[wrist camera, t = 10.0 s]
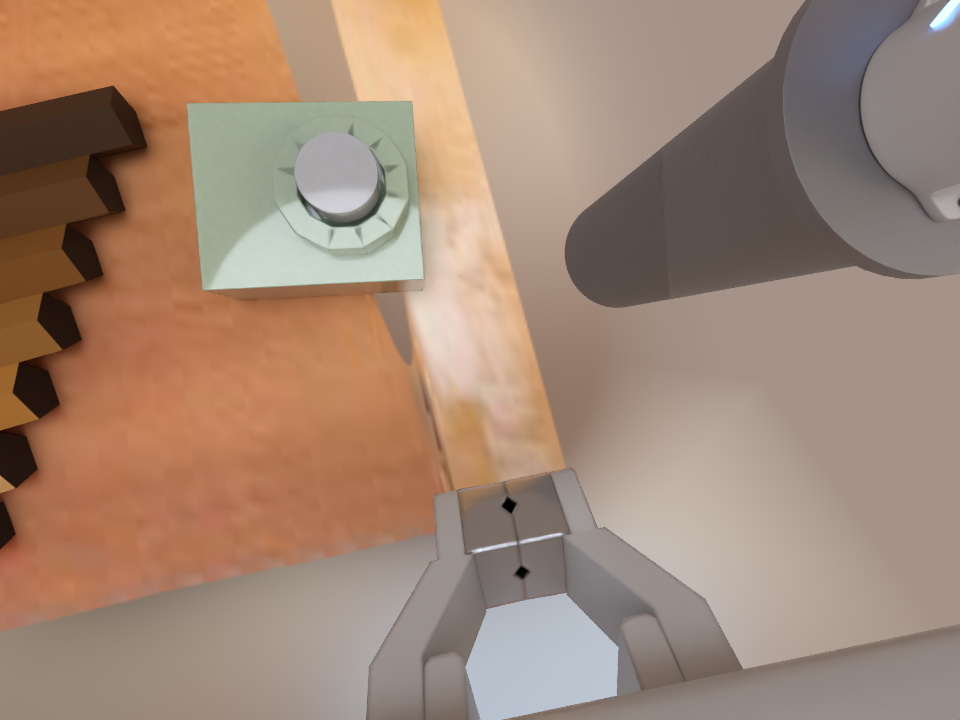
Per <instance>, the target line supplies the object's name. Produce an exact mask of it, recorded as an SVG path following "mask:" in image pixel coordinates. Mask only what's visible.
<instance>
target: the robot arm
mask: <svg viewBox="0 0 960 720" xmlns="http://www.w3.org/2000/svg"><path fill="white" fill-rule="evenodd" d="M860 108H861V119H862V124H863V129H864V133H865V136H866V139H867V141H868V144H869V146H870V148H871V150H872V152H873V154H874V156H875V157H876V159H877V160H878V162H879V163H880V165H881V166H882V167H883V168H884V169H885V171H886V172H887V173H888V174H889V175H890V176H891V177H892V178H894V179H895V180H896V181H897V182H899V183H900V184H902V185H903V186H904V187H906V188H907V189H909V190H910V191H911V192H912V193H913V194H914V195H915V196H916V197H917V198H918V200H919V202H920V204H921V205H922V207H923V208H924V210H925V211H926V213H927V214H928V215H929V217H930V218H931V219H932V220H933V221H935V222H937V223H946V222H950V221H953V220H957V219H960V0H919V2H918V3H917V5H916V7H915V9H914V11H913V13H912V15H911V17H910V18H909V19H908V20H907V21H906V22H905V23H904V24H903V25H901V26H900V27H899V28H897V29H896V30H895V31H893V32H892V33H891V34H890V35H889V36H888V37H887V38H886V39H885V40H884V41H883V42H882V43H881V44H880V45H879V47H878V48H877V50H876V51H875V53H874V54H873V56H872V58H871V60H870V62H869V64H868V66H867V69H866V72H865V75H864V79H863V83H862V88H861V99H860ZM433 503H434V517H435V532H436V545H437V560H435V561H431V562H430V563H429V565H428V567H427V568H426V570H425V572H424V573H423V575H422V577H421V579H420V580H419V582H418V584H417V585H416V587H415V589H414V591H413V592H412V594H411V596H410V598H409V599H408V601H407V603H406V604H405V606H404V608H403V610H402V611H401V613H400V615H399V616H398V618H397V620H396V621H395V623H394V625H393V627H392V628H391V630H390V632H389V633H388V635H387V637H386V639H385V641H384V642H383V644H382V646H381V647H380V649H379V651H378V652H377V654H376V656H375V657H374V659H373V661H372V663H371V664H370V666H369V679H368V697H367V714H366V720H480V717H479V714H478V710H477V707H476V703H475V700H474V696H473V693H472V689H471V686H470V683H469V679H468V675H467V672H466V668H465V666H466V664H467V661H468V658H469V656H470V653H471V650H472V648H473V645H474V642H475V640H476V637H477V635H478V632H479V629H480V627H481V624H482V621H483V619H484V616H485V613H486V609H488V608H492V607H497V606H500V605H505V604H509V603H514V602H518V601H523V600H527V599H533V598H539V597H545V596H551V595H556V594H562V593H567V595H568V596H569V597H570V598H571V599H572V600H573V601H574V602H575V603H576V604H577V605H578V606H579V608H581V609H582V610H583V611H584V613H585V614H586V615H587V616H588V617H589V618H590V619H591V620H592V621H593V622H594V623H595V624H596V625H597V626H598V627H599V628H600V629H601V630H602V631H603V632H604V633H605V634H606V635H607V636H608V637H609V638H610V639H611V640H612V641H613V642H614V643H615V644H616V645H617V646H618V647H619V651H618V677H617V679H618V680H617V695H618V696H614V697H609V698H604V699H600V700H595V701H590V702H585V703H580V704H576V705H571V706H566V707H561V708H557V709H552V710H547V711H542V712H537V713H533V714H528V715H523V716H518V717H514V718H509V719H504V720H960V624H958V625H954V626H949V627H944V628H939V629H934V630H929V631H925V632H920V633H915V634H910V635H906V636H901V637H896V638H892V639H887V640H882V641H877V642H873V643H868V644H863V645H858V646H853V647H849V648H844V649H839V650H835V651H829V652H825V653H820V654H815V655H811V656H806V657H801V658H796V659H791V660H787V661H782V662H777V663H772V664H767V665H763V666H758V667H753V668H748V669H743V668H742V666H741V664H740V663H739V661H738V659H737V657H736V655H735V653H734V651H733V649H732V648H731V646H730V644H729V642H728V640H727V638H726V636H725V635H724V633H723V631H722V629H721V627H720V625H719V623H718V622H717V620H716V618H715V616H714V614H713V612H712V610H711V608H710V607H709V605H708V603H707V601H706V600H705V598H703V597H702V596H700V595H699V594H698V593H696V592H695V591H693V590H692V589H691V588H689V587H688V586H686V585H685V584H683V583H682V582H681V581H679V580H678V579H677V578H675V577H674V576H672V575H671V574H670V573H668V572H667V571H665V570H664V569H663V568H661V567H660V566H658V565H657V564H656V563H654V562H653V561H651V560H650V559H649V558H647V557H646V556H644V555H643V554H642V553H640V552H639V551H637V550H636V549H635V548H633V547H632V546H631V545H629V544H627V543H626V542H625V541H623V540H622V539H621V538H619V537H618V536H616V535H615V534H614V533H612V532H611V531H610V530H608V529H607V528H605V527H604V528H598V527H597V525H596V522H595V520H594V517H593V515H592V512H591V510H590V508H589V505H588V502H587V500H586V497H585V495H584V492H583V490H582V487H581V485H580V482H579V480H578V477H577V476H576V473H575V470H573V469H572V468H567V469H562V470H557V471H552V472H549V473H548V472H547V473H542V474H537V475H532V476H527V477H522V478H517V479H512V480H507V481H503V482H499V483H493V484H487V485H481V486H475V487H469V488H463V489H458V490H454V491H448V492H442V493H436V494H434V499H433Z"/></svg>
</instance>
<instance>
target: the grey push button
mask: <svg viewBox="0 0 960 720" xmlns="http://www.w3.org/2000/svg"><path fill="white" fill-rule="evenodd" d="M294 175H295V180H296V184H297V186H298V189H299V191H300V192H301V194H302V196H303V197H304V198H305V199H306V201H307V202H308V203H309V205H310V206H311V207H312V208H313V210H314V211H315V212H316V213H318V214H319V215H320V216H322V217H323V218H325V219H327V220H330V221H333V222H337V223H350V222H354V221H357V220H360V219H362V218H363V217H365V216H366V215H368V214H369V213H370V212H371V211H372V209H373V208H374V207H375V205H376V203H377V201H378V199H379V196H380V190H381V183H380V177H379V173H378V168H377V164H376V161H375V158H374V156H373V154H372V153H371V151H370V150H369V148H368V147H367V146H366V145H365V144H364V143H363V142H362V141H361V140H359V139H358V138H356V137H354V136H352V135H350V134H347V133H343V132H334V131H333V132H325V133H321V134H319V135H316V136H314V137H313V138H311V139H310V140H308V141H307V142H306V143H305V144H304V145H303V147H302V148H301V150H300V151H299V153H298V155H297V158H296V161H295V167H294Z"/></svg>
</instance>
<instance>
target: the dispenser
mask: <svg viewBox="0 0 960 720" xmlns="http://www.w3.org/2000/svg"><path fill="white" fill-rule="evenodd" d="M187 116H188V127H189V139H190V151H191V163H192V175H193V187H194V198H195V210H196V222H197V234H198V246H199V257H200V269H201V281H202V290H203V291H207V292H211V293H215V294H219V295H223V296H227V297H231V298H235V299H239V300H255V299H274V298H293V297H312V296H331V295H350V294H369V293H388V292H407V291H423V287H424V267H423V252H422V237H421V223H420V208H419V194H418V179H417V165H416V150H415V135H414V121H413V106H412V101H370V102H271V103H187ZM333 131H334V132H343V133H347V134H350V135H352V136H354V137H356V138H358V139H359V140H361V141H362V142H363V143H364V144H365V145H366V146H367V147H368V148H369V150H370V151H371V153H372V154H373V156H374V158H375V161H376V164H377V168H378V173H379V177H380V183H381V190H380V196H379V199H378V201H377V203H376V205H375V207H374V208H373V209H372V211H371V212H370V213H369V214H368V215H366V216H365V217H363V218H362V219H360V220H357V221H354V222H350V223H337V222H333V221H330V220H327V219H325V218H323V217H322V216H320V215H319V214H318V213H316V212H315V211H314V210H313V208H312V207H311V206H310V205H309V203H308V202H307V201H306V199H305V198H304V197H303V196H302V194H301V192H300V191H299V189H298V186H297V184H296V180H295V175H294V167H295V161H296V158H297V155H298V153H299V151H300V150H301V148H302V147H303V145H304V144H305V143H306V142H307V141H308V140H310V139H311V138H313V137H314V136H316V135H319V134H321V133H325V132H333Z"/></svg>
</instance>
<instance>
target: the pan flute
mask: <svg viewBox="0 0 960 720" xmlns="http://www.w3.org/2000/svg"><path fill="white" fill-rule="evenodd" d="M142 147H147V144H146V141H145V138H144V135H143V132H142V129H141V126H140V123H139V120H138V117H137V114H136V112H135V111H134V110H133V108H132V107H131V106H130V105H129V104H128V102H127V101H126V100H125V99H124V98H123V97H122V95H121V94H120V93H119V92H118V91H117V89H116V88H115V87H114V86H109V87H105V88H101V89H96V90H92V91H87V92H83V93H79V94H74V95H70V96H65V97H61V98H57V99H52V100H48V101H43V102H39V103H35V104H30V105H26V106H21V107H17V108H13V109H8V110H4V111H0V430H3V429H7V428H10V427H14V426H17V425H21V424H24V423H28V422H31V421H35V420H38V419H40V418H42V417H43V416H44V415H46V414H47V413H48V412H50V411H51V410H53V409H54V408H55V407H57V406H58V405H59V401H58V398H57V396H56V393H55V390H54V387H53V384H52V381H51V378H50V376H49V373H48V371H45V370H42V369H39V368H36V367H33V366H30V365H26V364H23V363H20V362H22V361H25V360H29V359H32V358H36V357H40V356H43V355H47V354H50V353H54V352H58V351H61V350H64V349H66V348H67V347H69V346H71V345H73V344H75V343H76V342H78V341H80V340H82V339H81V336H80V334H79V331H78V328H77V325H76V322H75V319H74V316H73V313H72V310H71V308H70V306H68V305H66V304H64V303H62V302H60V301H58V300H56V299H54V298H52V297H50V296H48V295H46V294H44V292H47V291H51V290H55V289H59V288H63V287H66V286H70V285H74V284H78V283H81V282H85V281H88V280H91V279H94V278H97V277H99V276H102V275H103V272H102V269H101V266H100V263H99V260H98V257H97V254H96V252H95V249H94V246H93V243H92V241H91V240H89V239H88V238H86V237H85V236H83V235H82V234H81V233H79V232H78V231H76V230H75V229H73V228H72V227H71V226H69V225H70V224H74V223H78V222H82V221H86V220H90V219H94V218H98V217H102V216H106V215H110V214H114V213H118V212H122V211H125V208H124V205H123V202H122V199H121V196H120V193H119V190H118V187H117V184H116V181H115V178H114V176H113V175H111V174H110V173H109V172H108V171H107V170H106V169H105V168H104V167H103V166H102V165H101V164H100V163H99V162H97V161H96V160H95V159H97V158H101V157H105V156H109V155H113V154H118V153H122V152H126V151H130V150H134V149H138V148H142ZM36 470H37V466H36V463H35V461H34V458H33V455H32V452H31V449H30V447H29V444H28V441H27V438H26V436H19V435H13V434H6V433H0V493H2V492H5V491H9V490H12V489H15V488H17V487H18V486H19V485H20V484H21V483H22V482H24V481H25V480H26V479H27V478H28V477H29V476H30V475H32V474H33V473H34V472H35V471H36ZM14 535H15V532H14V529H13V526H12V523H11V521H10V518H9V515H8V512H7V510H6V507H5V504H4V502H0V549H1V548H2V547H3V546H4V545H5V544H6V543H7V542H8V541H9V540H10V539H11V538H12V537H13V536H14Z"/></svg>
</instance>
